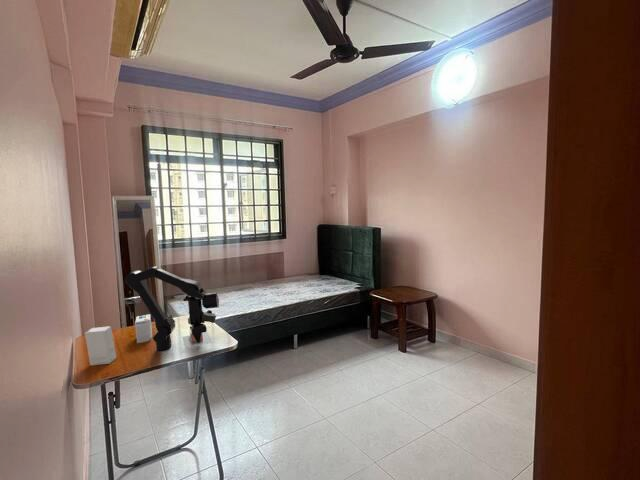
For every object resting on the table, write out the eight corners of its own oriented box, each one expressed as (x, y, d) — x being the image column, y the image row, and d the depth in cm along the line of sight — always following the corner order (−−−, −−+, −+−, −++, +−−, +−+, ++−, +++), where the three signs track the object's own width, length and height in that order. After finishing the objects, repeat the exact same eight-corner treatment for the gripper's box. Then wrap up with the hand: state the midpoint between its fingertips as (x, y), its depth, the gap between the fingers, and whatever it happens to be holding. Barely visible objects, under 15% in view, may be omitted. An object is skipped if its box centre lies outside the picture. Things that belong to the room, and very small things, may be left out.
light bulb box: (138, 336, 175) (135, 316, 174) (152, 333, 177) (150, 313, 176) (136, 343, 165) (134, 322, 164) (152, 340, 168) (149, 319, 167)
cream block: (202, 331, 162) (199, 325, 170) (191, 333, 160) (189, 328, 168) (202, 339, 162) (200, 333, 170) (191, 341, 160) (189, 335, 168)
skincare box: (116, 358, 149) (112, 325, 148) (109, 364, 143) (104, 330, 142) (97, 359, 149) (93, 326, 147) (88, 366, 143) (84, 332, 141)
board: (212, 344, 158) (212, 342, 158) (185, 350, 153) (185, 348, 153) (204, 327, 184) (204, 324, 183) (180, 331, 178) (180, 329, 178)
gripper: (217, 311, 150) (220, 345, 151) (210, 301, 166) (213, 332, 168) (190, 316, 145) (193, 351, 146) (186, 305, 161) (189, 337, 163)
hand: (198, 342), depth 156 cm, fingers closed
